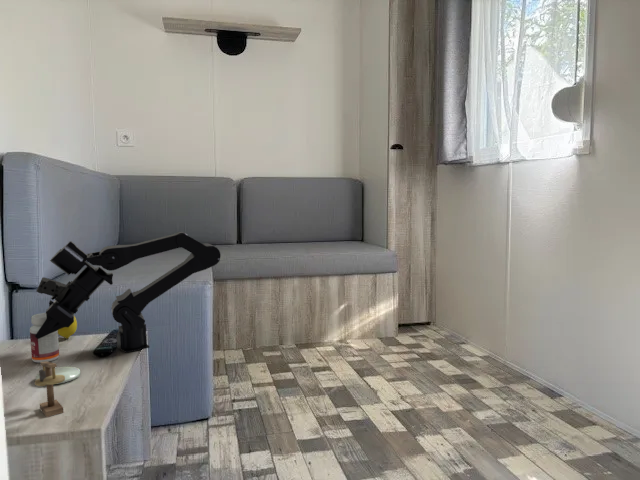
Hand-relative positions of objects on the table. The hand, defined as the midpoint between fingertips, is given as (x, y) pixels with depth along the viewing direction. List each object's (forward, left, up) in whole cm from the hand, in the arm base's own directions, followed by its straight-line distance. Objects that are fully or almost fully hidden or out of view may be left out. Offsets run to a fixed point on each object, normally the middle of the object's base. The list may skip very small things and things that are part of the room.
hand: (37, 334), depth 129 cm
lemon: (-10, -15, -7) cm, 19 cm away
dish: (0, +16, -7) cm, 18 cm away
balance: (+5, +33, -7) cm, 34 cm away
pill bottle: (-1, 0, -7) cm, 7 cm away
